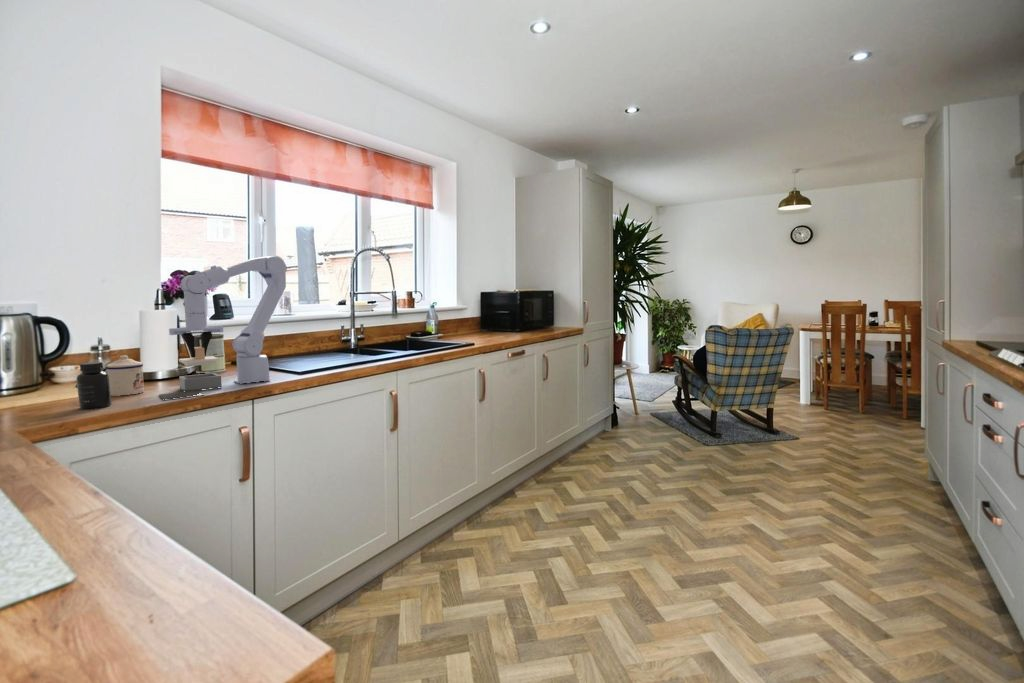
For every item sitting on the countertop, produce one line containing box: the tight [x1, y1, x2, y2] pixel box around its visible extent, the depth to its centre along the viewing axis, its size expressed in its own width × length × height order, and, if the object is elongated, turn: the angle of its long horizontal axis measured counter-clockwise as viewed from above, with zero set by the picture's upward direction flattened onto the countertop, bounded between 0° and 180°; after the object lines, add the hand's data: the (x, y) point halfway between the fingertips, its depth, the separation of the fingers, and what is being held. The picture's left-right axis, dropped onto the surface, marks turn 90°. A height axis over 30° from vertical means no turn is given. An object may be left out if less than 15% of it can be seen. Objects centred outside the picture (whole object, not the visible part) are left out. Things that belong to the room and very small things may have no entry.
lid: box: [178, 347, 219, 367], centre depth 166 cm, size 10×8×5 cm
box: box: [178, 373, 223, 392], centre depth 166 cm, size 10×8×4 cm
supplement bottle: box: [76, 361, 112, 410], centre depth 141 cm, size 7×7×12 cm
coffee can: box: [193, 333, 226, 374], centre depth 201 cm, size 10×10×14 cm
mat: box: [158, 390, 202, 401], centre depth 155 cm, size 10×9×1 cm
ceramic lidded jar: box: [105, 354, 145, 397], centre depth 160 cm, size 12×9×12 cm
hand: (198, 356), depth 166 cm, fingers closed on lid, 2 cm apart
